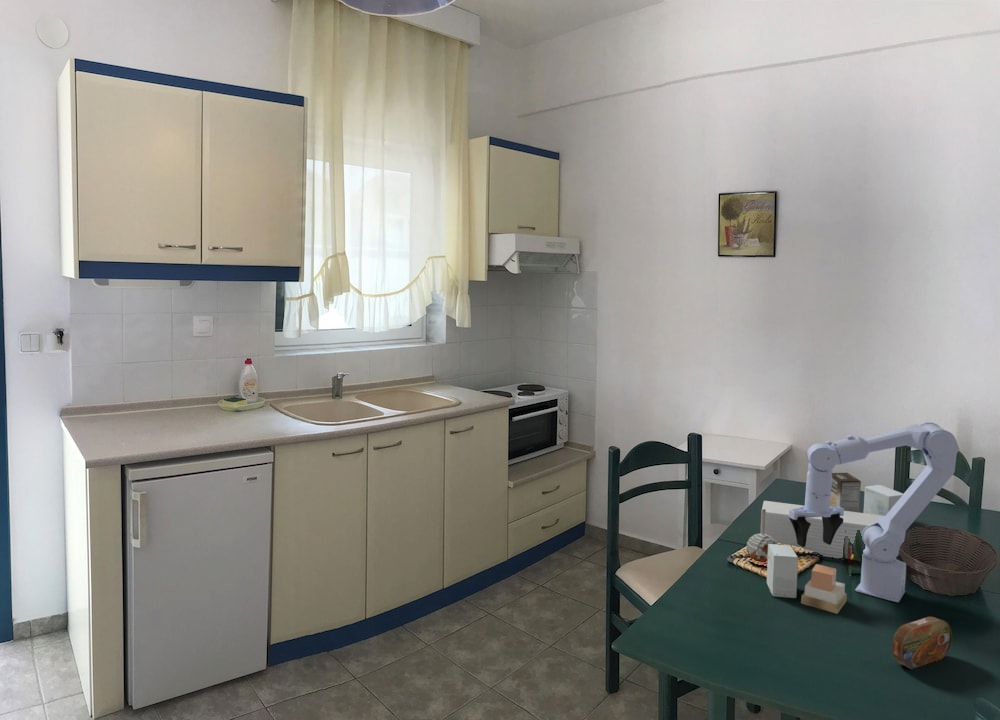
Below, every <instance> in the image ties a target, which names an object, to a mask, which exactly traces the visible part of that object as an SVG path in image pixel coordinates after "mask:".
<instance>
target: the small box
mask: <svg viewBox="0 0 1000 720" xmlns="http://www.w3.org/2000/svg"><path fill="white" fill-rule="evenodd" d="M798 566H799V557H798V555H797V552H794V550H793V548H792V547H791V545H778V544H768V561H767V566H766V567H767V568H766V571H767V572H766V584H767V587H768V589H769V592H770V593H771V595H772V597H775V598H790V599H797V592H798V591H797V589H798V568H799V567H798Z"/></svg>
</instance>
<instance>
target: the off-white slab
mask: <svg viewBox="0 0 1000 720" xmlns="http://www.w3.org/2000/svg"><path fill="white" fill-rule="evenodd" d="M845 586H846V584H845V583H844V582H839V581H836V585H835V587H834V588H833V590H832V592H831V591H827V590H823V589H819V588H815V587H811V579H810V580H808V581H807V583H805V585H804V592H805V596H808V597H812V598H815V599H819V600H822V601H826V602H829V603H833V604H837V603H838V602H839V600H840V599H841V598H842V596H843V595H844V593H846V592H845V588H846V587H845Z"/></svg>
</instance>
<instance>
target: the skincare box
mask: <svg viewBox="0 0 1000 720" xmlns="http://www.w3.org/2000/svg"><path fill="white" fill-rule="evenodd" d="M903 494H904V493H902V492H900V491H897V490H896V489H895V490H894V489H892V488H889V487H887V486H884V485H881V484H876V485H875V484H874V485H868V486H866V485H865V486H864V494H863V495H864V497H863V513H866V514H874V515H882V516H886V515H887V513H888V512H889V511H890V510H891V509H892V507H893V506H894V505H895V504H896V502H897V501H898V500H899V499H900V498H901V496H902V495H903Z"/></svg>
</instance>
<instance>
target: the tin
mask: <svg viewBox="0 0 1000 720" xmlns="http://www.w3.org/2000/svg"><path fill="white" fill-rule="evenodd" d="M952 641H953V630H952V628H951V625H950V624H949V622H947V621H946V620H944V619H940V618H937V617H935V616H927V617H922V618H919V619H917V620H914V621H911V622H907V623H903V624H902V625H900V627H898V628H897V630H896V631H895V633H894V635H893V639H892V656H893V658H894V660H895V662H897V663H898V664H900V665H902V666H905V667H906V668H908V669H910V670H914V669H913V668H915V667H919V666H922V665H925V666H927V665H926V664H928V663H931V662H934V661H936V662H939V661H941V660H942V659H944V658H945V657H946V655H947V654H948V652H949V651H950V648H951V645H952ZM938 660H939V661H938ZM934 663H935V662H934ZM931 664H932V663H931ZM928 665H929V664H928ZM922 667H923V666H922Z"/></svg>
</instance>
